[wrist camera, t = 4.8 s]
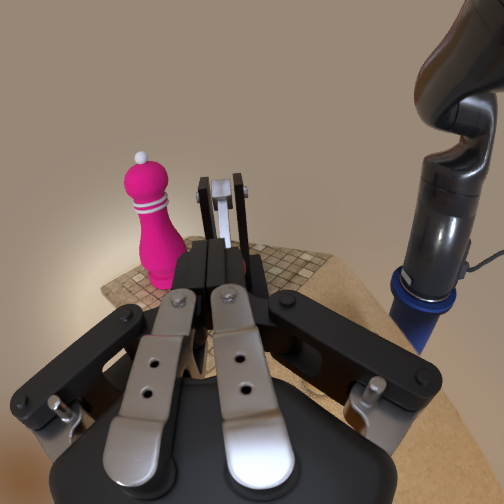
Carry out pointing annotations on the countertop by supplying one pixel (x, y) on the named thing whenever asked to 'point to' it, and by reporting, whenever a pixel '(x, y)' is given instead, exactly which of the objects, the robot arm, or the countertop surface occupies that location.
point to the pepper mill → (154, 220)
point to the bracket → (252, 262)
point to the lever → (223, 208)
